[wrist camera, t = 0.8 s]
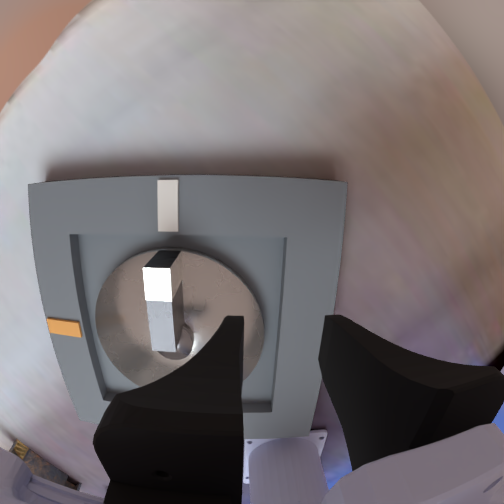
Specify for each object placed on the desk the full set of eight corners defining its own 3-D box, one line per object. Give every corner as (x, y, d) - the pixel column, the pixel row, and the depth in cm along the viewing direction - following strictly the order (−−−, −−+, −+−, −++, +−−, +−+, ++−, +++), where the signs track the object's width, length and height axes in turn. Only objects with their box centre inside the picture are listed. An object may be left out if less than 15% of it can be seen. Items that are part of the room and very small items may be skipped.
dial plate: (304, 419, 25) (309, 438, 23) (87, 405, 24) (78, 421, 22) (336, 180, 20) (348, 182, 17) (44, 182, 18) (26, 184, 16)
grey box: (83, 481, 29) (65, 529, 20) (77, 485, 29) (60, 531, 20) (18, 435, 27) (-9, 480, 17) (15, 442, 27) (-10, 484, 18)
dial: (259, 395, 23) (263, 433, 18) (114, 385, 22) (98, 419, 18) (267, 248, 19) (276, 270, 15) (89, 245, 19) (58, 264, 15)
